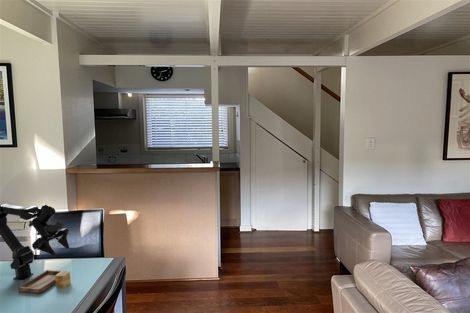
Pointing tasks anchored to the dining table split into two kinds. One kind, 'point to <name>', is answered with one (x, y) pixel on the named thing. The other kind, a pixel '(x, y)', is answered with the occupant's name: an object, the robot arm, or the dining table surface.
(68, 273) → the ochre block
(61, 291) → the dining table surface
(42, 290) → the walnut tray
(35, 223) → the robot arm
